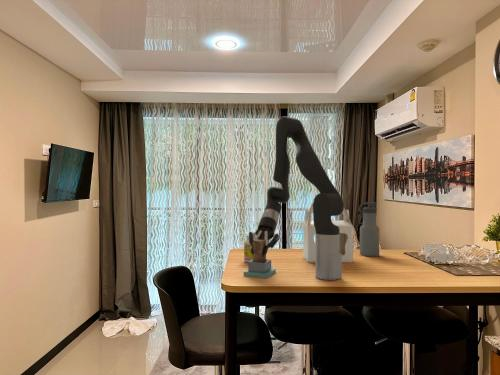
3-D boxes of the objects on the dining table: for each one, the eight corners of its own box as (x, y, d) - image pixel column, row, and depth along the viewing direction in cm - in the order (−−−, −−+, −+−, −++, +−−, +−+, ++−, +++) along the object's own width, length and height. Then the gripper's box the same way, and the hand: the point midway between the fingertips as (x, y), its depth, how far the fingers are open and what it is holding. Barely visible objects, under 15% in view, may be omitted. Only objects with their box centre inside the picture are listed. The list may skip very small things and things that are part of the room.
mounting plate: (275, 272, 139) (275, 268, 139) (266, 278, 130) (266, 274, 130) (253, 270, 143) (253, 266, 143) (243, 275, 134) (243, 271, 134)
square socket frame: (271, 269, 138) (271, 259, 138) (264, 273, 132) (264, 263, 132) (255, 267, 141) (255, 258, 141) (248, 271, 135) (248, 261, 135)
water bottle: (355, 254, 178) (355, 202, 178) (364, 252, 185) (364, 201, 185) (373, 257, 171) (373, 202, 171) (382, 255, 177) (382, 202, 178)
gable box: (307, 262, 159) (307, 203, 159) (302, 257, 172) (302, 202, 172) (353, 262, 159) (353, 203, 160) (345, 256, 172) (345, 202, 173)
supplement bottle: (242, 260, 163) (242, 234, 163) (255, 259, 165) (255, 233, 165) (246, 263, 157) (246, 235, 157) (259, 262, 159) (259, 235, 159)
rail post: (265, 263, 138) (266, 239, 138) (262, 265, 134) (262, 241, 134) (257, 262, 140) (257, 239, 140) (253, 264, 136) (253, 240, 136)
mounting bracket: (453, 267, 158) (449, 245, 162) (460, 264, 152) (455, 241, 156) (427, 266, 159) (423, 244, 164) (432, 263, 153) (428, 241, 158)
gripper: (251, 215, 147) (239, 247, 136) (282, 216, 141) (271, 250, 130) (256, 226, 151) (244, 258, 140) (286, 227, 146) (276, 261, 134)
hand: (257, 254), depth 135 cm, fingers closed on rail post, 4 cm apart
